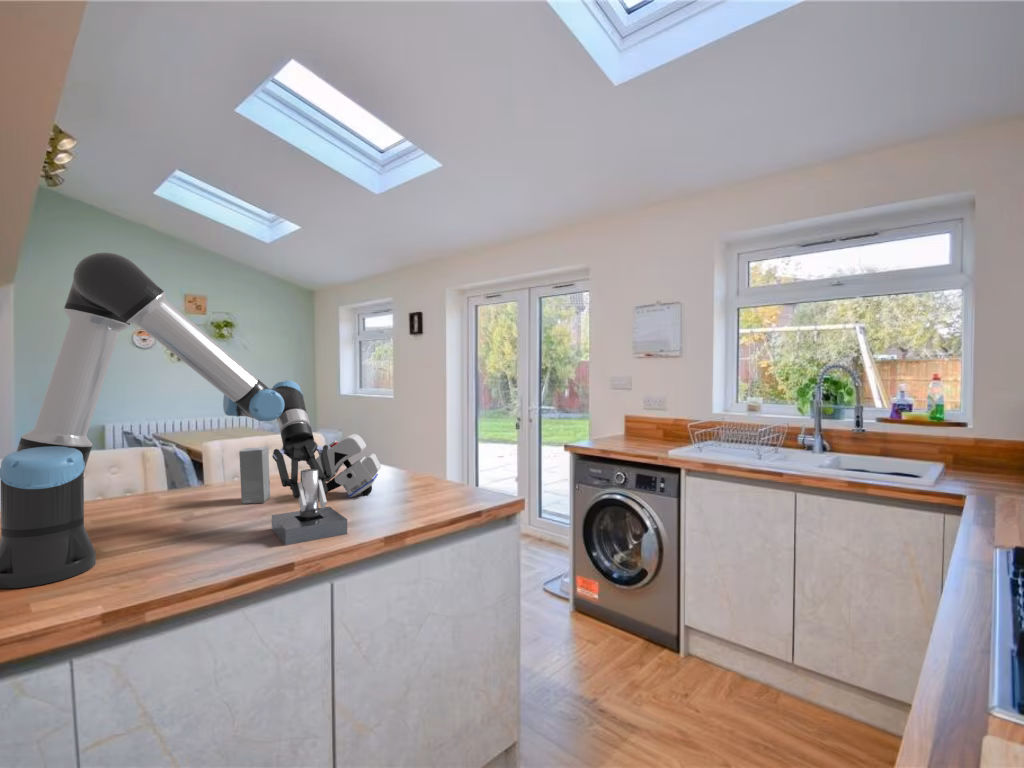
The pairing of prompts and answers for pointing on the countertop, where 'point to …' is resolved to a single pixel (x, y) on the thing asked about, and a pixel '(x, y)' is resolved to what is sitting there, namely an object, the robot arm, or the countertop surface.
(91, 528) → the countertop surface
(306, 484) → the grey black cylinder
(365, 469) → the robotic device
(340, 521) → the chuck block
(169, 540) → the countertop surface
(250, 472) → the product box
